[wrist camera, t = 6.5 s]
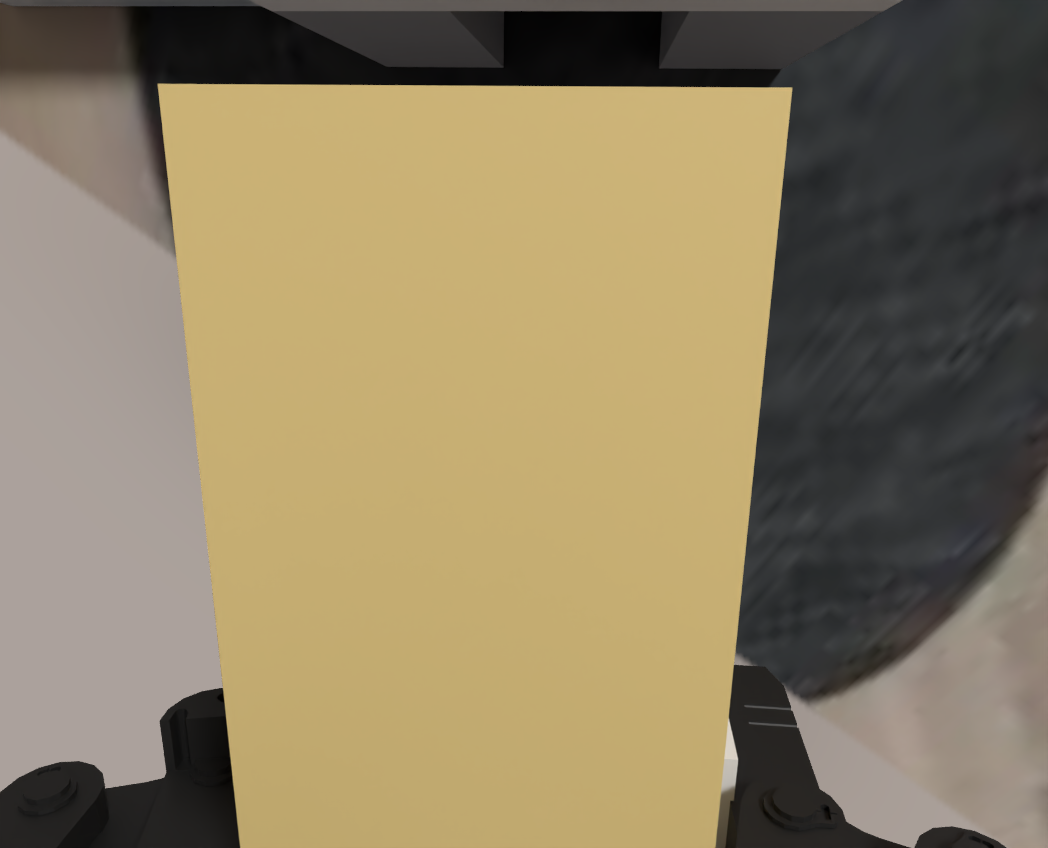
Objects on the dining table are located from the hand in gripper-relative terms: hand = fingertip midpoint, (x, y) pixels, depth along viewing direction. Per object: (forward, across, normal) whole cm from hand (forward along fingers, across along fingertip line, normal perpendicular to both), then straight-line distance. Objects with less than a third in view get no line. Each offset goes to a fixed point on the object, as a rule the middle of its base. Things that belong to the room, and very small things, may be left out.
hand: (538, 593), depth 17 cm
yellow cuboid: (+1, 0, +3) cm, 3 cm away
